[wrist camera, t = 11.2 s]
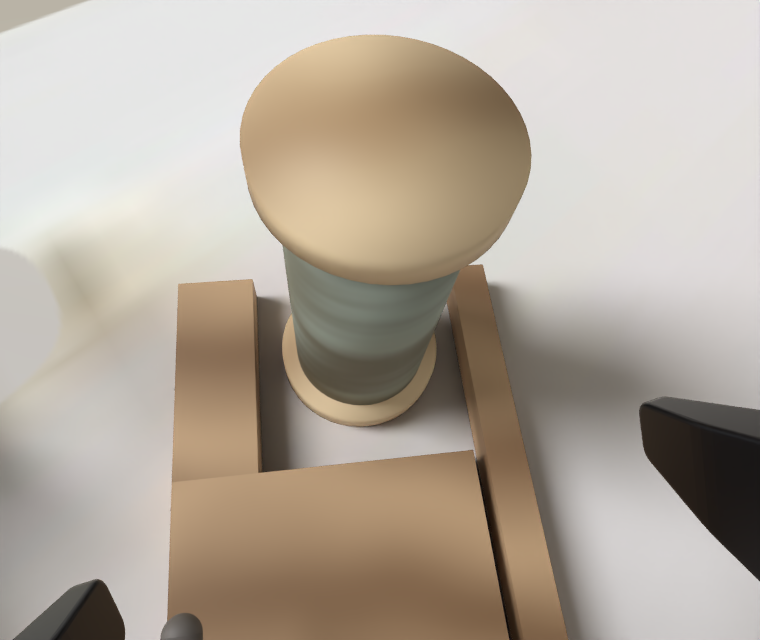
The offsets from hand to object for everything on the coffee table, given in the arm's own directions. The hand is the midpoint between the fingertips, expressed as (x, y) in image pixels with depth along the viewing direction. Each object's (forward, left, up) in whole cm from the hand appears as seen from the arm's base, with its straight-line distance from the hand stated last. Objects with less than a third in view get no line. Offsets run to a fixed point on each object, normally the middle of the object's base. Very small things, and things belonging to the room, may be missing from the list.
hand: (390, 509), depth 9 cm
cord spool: (+8, -1, -13) cm, 15 cm away
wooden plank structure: (+2, +1, -13) cm, 13 cm away
